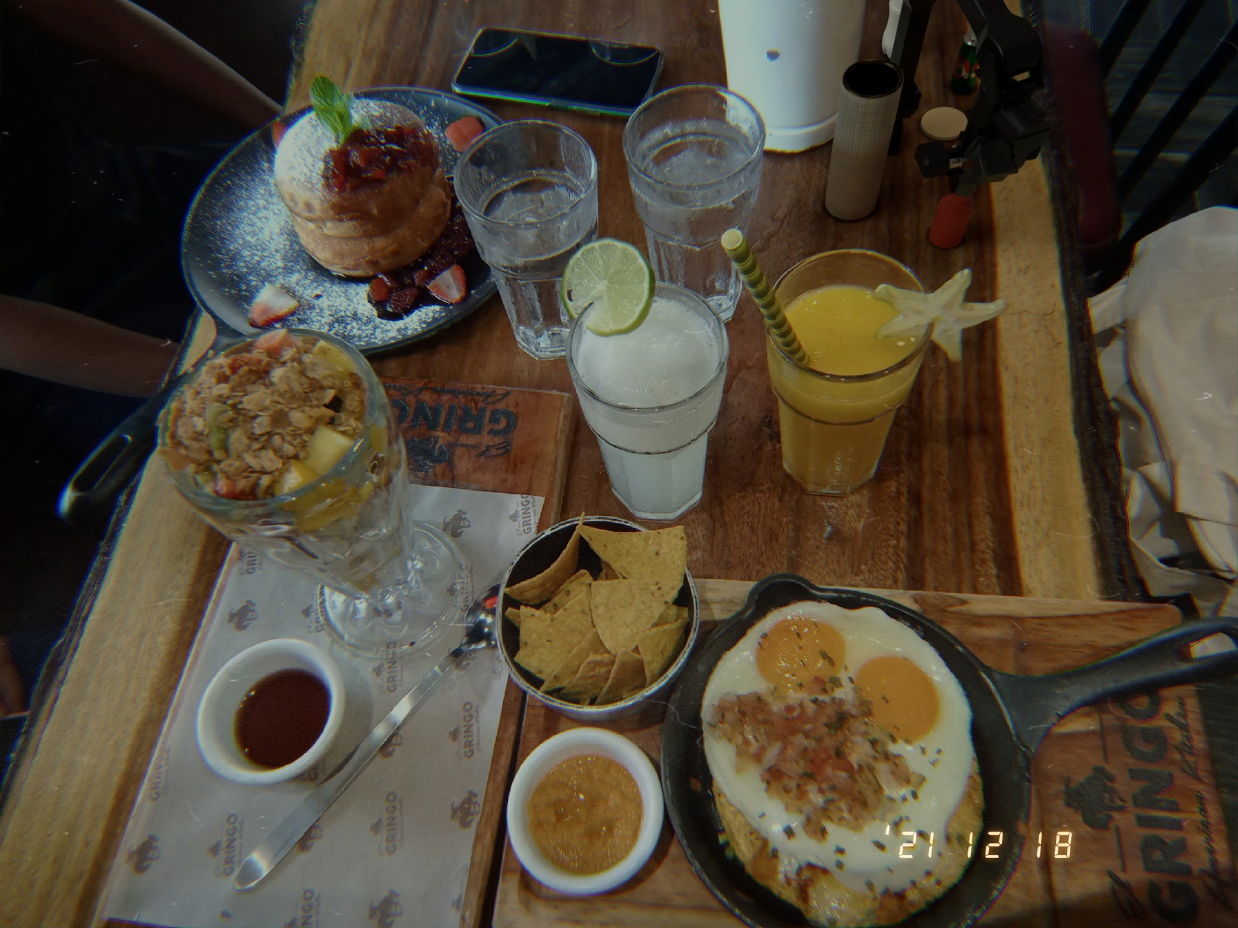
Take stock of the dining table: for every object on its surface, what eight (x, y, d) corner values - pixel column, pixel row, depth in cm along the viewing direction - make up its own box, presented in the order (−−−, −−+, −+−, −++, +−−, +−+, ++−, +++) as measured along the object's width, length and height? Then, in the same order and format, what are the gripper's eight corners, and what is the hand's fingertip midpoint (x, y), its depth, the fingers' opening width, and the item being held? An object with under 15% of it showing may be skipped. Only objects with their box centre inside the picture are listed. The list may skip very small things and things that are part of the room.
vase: (878, 186, 147) (907, 58, 122) (872, 223, 143) (900, 99, 118) (828, 182, 149) (846, 56, 124) (821, 219, 145) (838, 95, 121)
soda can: (973, 78, 156) (990, 24, 145) (975, 94, 154) (993, 40, 143) (948, 80, 157) (963, 26, 146) (950, 96, 155) (966, 42, 144)
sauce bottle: (930, 249, 138) (946, 203, 128) (926, 225, 141) (941, 178, 131) (964, 247, 137) (982, 201, 127) (959, 223, 140) (977, 176, 130)
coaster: (923, 142, 150) (923, 139, 150) (918, 112, 154) (919, 108, 153) (969, 139, 149) (970, 135, 148) (963, 108, 153) (964, 105, 152)
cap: (959, 200, 127) (963, 188, 125) (946, 185, 129) (950, 173, 127) (980, 191, 128) (984, 179, 125) (966, 177, 130) (971, 165, 127)
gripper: (944, 160, 112) (922, 233, 126) (1070, 137, 110) (1033, 213, 124) (924, 111, 117) (904, 187, 131) (1044, 89, 115) (1011, 167, 129)
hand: (962, 189), depth 129 cm, fingers closed on cap, 4 cm apart
